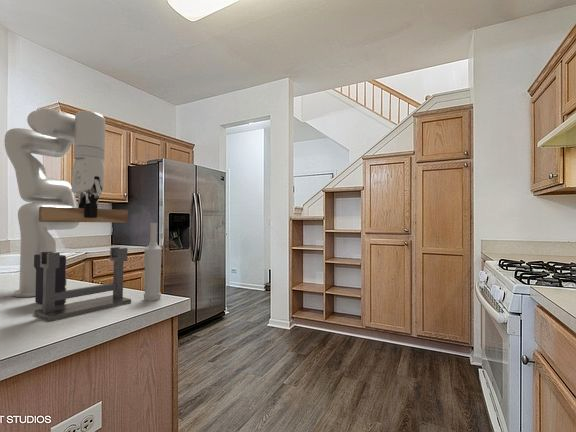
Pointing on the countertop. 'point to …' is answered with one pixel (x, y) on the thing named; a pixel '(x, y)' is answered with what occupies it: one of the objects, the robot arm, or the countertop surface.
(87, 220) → the rail
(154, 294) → the bottle
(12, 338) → the countertop surface
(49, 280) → the hook stand
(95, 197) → the robot arm
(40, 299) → the black notched bar
